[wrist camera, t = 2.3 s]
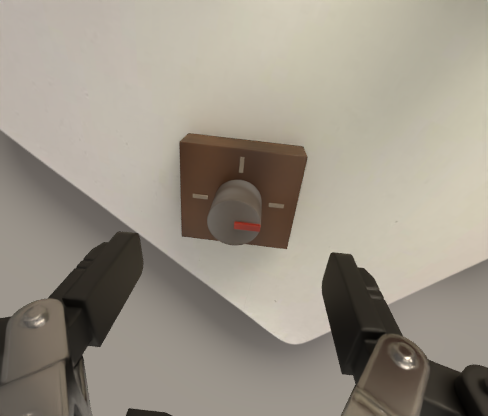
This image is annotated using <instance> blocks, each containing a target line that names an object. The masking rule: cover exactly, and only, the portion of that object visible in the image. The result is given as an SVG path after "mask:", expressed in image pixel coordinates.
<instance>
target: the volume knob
mask: <svg viewBox="0 0 488 416" xmlns="http://www.w3.org/2000/svg"><path fill="white" fill-rule="evenodd" d="M261 206H262V200H261V195H260V193H259V191H258V190H257V188H256V187H255V186H254V185H252V184H251V183H249V182H247V181H244V180H231V181H228V182H226V183H224V184H222V185H221V186H220V187H219V189H218V190H217V192H216V195H215V197H214V200H213V203H212V205H211V208H210V211H209V214H208V217H207V225H208V228H209V230H210V232H211V234H212V235H213V236H214V237H215V238H216V239H217V240H219V241H221V242H222V243H225V244H228V245H243V244H246V243H248V242H250V241H252V240H253V239H254V238H255V237H256V236H257V235H258V233H259V232H260V228H261Z"/></svg>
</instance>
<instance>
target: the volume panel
mask: <svg viewBox="0 0 488 416" xmlns="http://www.w3.org/2000/svg"><path fill="white" fill-rule="evenodd" d="M306 162H307V155H306V152H305V150H304V147H303V146H294V145H285V144H277V143H268V142H260V141H251V140H242V139H234V138H225V137H217V136H208V135H199V134H191V133H188V134H187V135H186V136H185V137H184V138H183V139H182V140H181V141H180V182H181V223H182V236H183V237H192V238H200V239H208V240H216V241H219V240H217V239H216V238H215V237H214V236H213V235H212V234H211V232H210V230H209V228H208V225H207V217H208V214H209V211H210V208H211V205H212V203H213V200H214V197H215V195H216V192H217V190H218V189H219V187H220V186H221V185H222V184H224V183H226V182H228V181H231V180H244V181H247V182H249V183H251V184H252V185H254V186H255V187H256V188H257V190H258V191H259V193H260V195H261V200H262V206H261V228H260V232H259V233H258V235H257V236H256V237H255V238H254V239H253V240H252V241H250V242H248V243H246V244H249V245H257V246H266V247H274V248H282V249H287V246H288V242H289V237H290V233H291V228H292V224H293V219H294V215H295V211H296V206H297V202H298V197H299V193H300V188H301V184H302V179H303V175H304V170H305V166H306Z"/></svg>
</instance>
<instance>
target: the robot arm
mask: <svg viewBox="0 0 488 416" xmlns="http://www.w3.org/2000/svg"><path fill="white" fill-rule="evenodd" d="M142 270H143V256H142V249H141V243H140V238H139V234H138V233H131V232H121V231H119V232H117V233H116V234H115V235H114V237H113V238H112V239H111V240H110V241H109V242H104V243H102V244H100V245H98V246H97V247H95V248H93V249H92V250H91V251H90V252H89V253H88V254H87V255H86V256H85V258H84V260H83V261H81V262H80V263H79V264H78V265H77V268H76V269H74V270H73V271H72V272H71V273H70V274H69V275H68V276H67V278H66V279H65V280H64V281H63V282H62V283H61V284H60V285H59V286H58V288H57V289H56V290H55V291H54V292H53V293H52V294H51V295H50V296H49V298H47V299H41V300H37V301H34V302H31V303H29V304H27V305H26V306H24V307H22V308H21V309H19V310H18V311H17V312H16V313H14V315H13V316H11V317H5V318H0V416H92V412H91V407H90V400H89V393H88V386H87V380H86V373H85V366H84V359H83V356H82V354H83V353H84V351H85V349H86V348H87V346H95V347H100V346H101V345H102V343H103V341H104V339H105V338H106V336H107V334H108V332H109V331H110V329H111V327H112V325H113V323H114V322H115V320H116V318H117V316H118V315H119V313H120V311H121V309H122V308H123V306H124V304H125V302H126V301H127V299H128V297H129V295H130V294H131V292H132V290H133V288H134V287H135V285H136V283H137V281H138V279H139V278H140V276H141V274H142ZM322 295H323V299H324V303H325V307H326V311H327V315H328V320H329V324H330V328H331V332H332V336H333V340H334V344H335V347H336V352H337V356H338V360H339V364H340V368H341V372H342V374H346V375H353V376H354V380H355V384H356V385H355V387H354V389H353V391H352V393H351V395H350V397H349V399H348V402H347V403H346V406H345V408H344V410H343V412H342V414H341V416H488V368H487V367H484V366H480V365H469V366H467V367H466V368H465V369H464V370H463V371H462V372H458V371H456V370H453V369H450V368H448V367H445V366H443V365H440V364H438V363H435V362H433V361H431V360H429V359H427V357H426V355H425V354H424V353H423V351H422V350H421V349H420V348H419V347H418V346H417V345H416V344H415V343H413V342H412V341H410V340H409V339H407V338H405V337H403V335H402V333H401V331H400V329H399V327H398V325H397V324H396V322H395V319H394V318H393V315H392V313H391V312H390V309H389V307H388V305H387V303H386V301H385V300H384V297H383V295H382V293H381V291H379V287H378V285H377V283H376V281H375V279H374V278H373V277H372V276H371V275H370V274H369V273H368V272H367V271H366V270H365V269H364V268H358V267H357V265H356V263H355V260H354V258H353V256H352V255H351V254H344V253H333V252H332V253H331V254H330V257H329V260H328V263H327V267H326V270H325V273H324V277H323V281H322ZM126 416H172V415H170V414H168V413H165V412H157V411H148V410H139V409H130V408H129V409H128V412H127V414H126Z"/></svg>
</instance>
